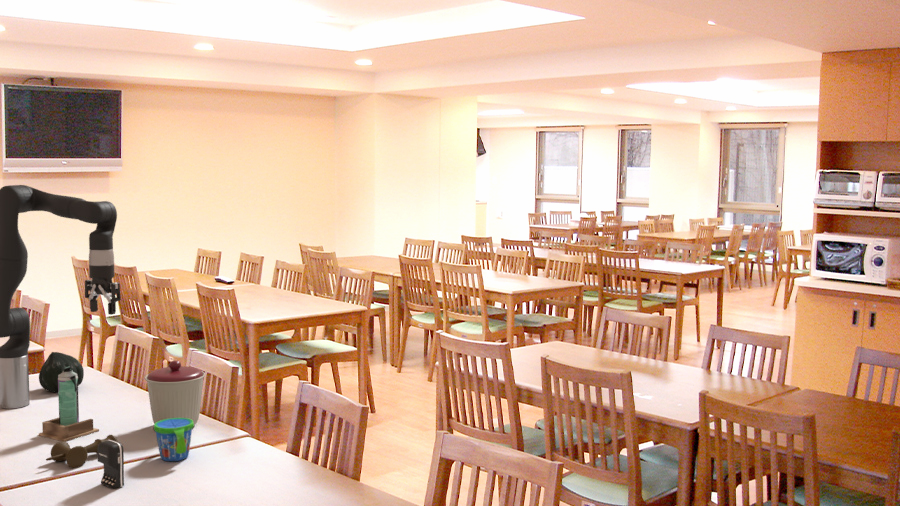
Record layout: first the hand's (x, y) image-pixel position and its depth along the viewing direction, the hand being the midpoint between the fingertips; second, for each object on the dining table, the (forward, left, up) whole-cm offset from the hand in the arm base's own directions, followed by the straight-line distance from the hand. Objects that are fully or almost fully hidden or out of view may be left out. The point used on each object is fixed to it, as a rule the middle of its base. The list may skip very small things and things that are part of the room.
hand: (102, 312), depth 267 cm
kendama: (+29, -31, -35) cm, 55 cm away
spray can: (+6, -18, -34) cm, 39 cm away
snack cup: (+50, -17, -34) cm, 63 cm away
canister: (+28, +4, -34) cm, 45 cm away
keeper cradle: (+6, -18, -34) cm, 39 cm away
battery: (+52, -40, -34) cm, 74 cm away
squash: (-40, +13, -34) cm, 54 cm away
